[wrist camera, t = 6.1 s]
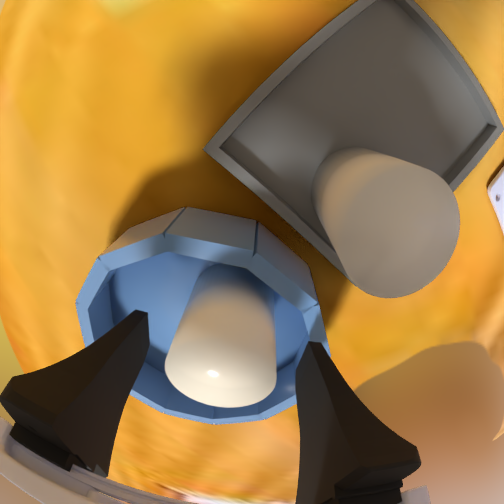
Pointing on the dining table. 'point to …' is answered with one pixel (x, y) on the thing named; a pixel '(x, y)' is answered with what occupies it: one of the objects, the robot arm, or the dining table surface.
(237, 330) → the white rounded capsule
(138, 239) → the bowl
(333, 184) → the cylinder
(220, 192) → the dining table surface
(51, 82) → the dining table surface
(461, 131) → the tray
